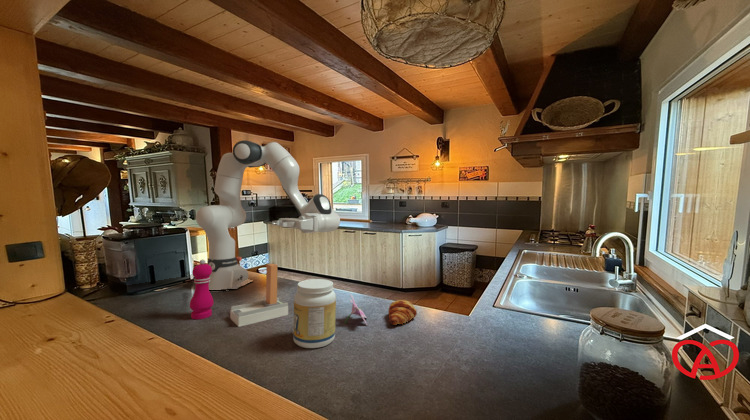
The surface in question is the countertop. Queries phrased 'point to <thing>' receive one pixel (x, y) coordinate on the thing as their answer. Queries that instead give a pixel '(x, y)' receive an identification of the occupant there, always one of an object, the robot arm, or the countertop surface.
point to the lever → (271, 285)
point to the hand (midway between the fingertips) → (277, 223)
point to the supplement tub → (314, 313)
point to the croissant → (401, 312)
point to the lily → (356, 310)
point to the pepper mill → (201, 292)
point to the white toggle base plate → (256, 312)
